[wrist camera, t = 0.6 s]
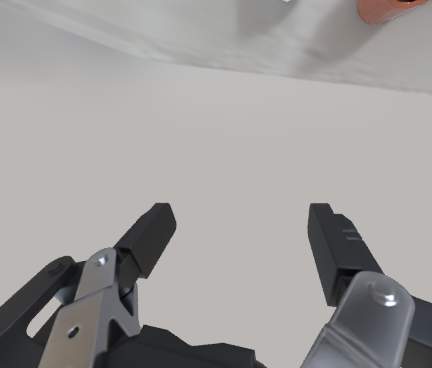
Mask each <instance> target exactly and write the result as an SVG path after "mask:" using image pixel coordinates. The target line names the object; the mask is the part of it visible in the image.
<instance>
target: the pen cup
mask: <svg viewBox="0 0 432 368" xmlns="http://www.w3.org/2000/svg"><path fill="white" fill-rule="evenodd" d="M427 1H429V0H358V12H359V15H360V17H361V18H362V19H363V20H364V21H365V22H367V23H369V24H381V23H384V22H387V21H389V20H392V19H394V18H396V17H398V16H400V15H402V14H404V13H406V12H408V11H410V10H412V9H414V8H416V7H418V6H420V5H422V4H424V3H426V2H427Z"/></svg>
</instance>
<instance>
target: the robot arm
mask: <svg viewBox="0 0 432 368" xmlns="http://www.w3.org/2000/svg"><path fill="white" fill-rule="evenodd" d="M175 230H176V220H175V217H174V214H173V212H172V209H171V206H170V204H169V203H156V204H154V206H153V207H152V208H151V209H150V210H149V211H148V212H146V213H145V214H144V215H142V216H141V217H140V218H139V219H138V220H137V221H136V223H135V224H134V225H133V226H132V227H131V228H130V229H129V230H128V231H127V232H126V233H125V235H124V236H123V237H122V238H121V239H120V240H119V241H118V242H117V243H116V245H115V246H114V247H113V248H105V249H102V250H100V251H98V252H96V253H95V254H94V255H92V256H91V257H90V258H89V259H88V260H87V261H82V262H77V263H76V262H75V261H74V260H73V259H72V257H70V256H63V257H60V258H58V259H56V260H54V261H52V262H51V263H49V264H48V265H47V266H45V267H44V268H43V269H42V270H41V271H40V272H39V273H37V275H35V276H34V277H33V278H32V279H31V280H30V281H29V282H28V283H26V284H25V285H24V286H23V287H22V288H21V289H20V290H18V291H17V292H16V293H15V294H14V295H13V296H12V297H11V298H10V299H8V300H7V301H6V302H5V303H4V304H3V305H2V306H1V307H0V368H267V367H266V366H264V365H263V364H262V363H260V362H258V361H257V360H256V357H255V350H252V349H248V348H243V347H239V346H235V345H230V344H226V343H217V344H208V345H199V346H190V345H188V344H187V343H185V342H184V341H183V340H181V339H180V338H178V337H177V336H175V335H174V334H172V333H171V332H170V331H168V330H165V329H161V328H157V327H152V326H148V325H143V327H142V329H141V328H140V326H139V320H138V289H137V283H136V281H137V279H138V278H144V279H147V278H148V277H149V275H150V273H151V271H152V270H153V268H154V266H155V265H156V263H157V261H158V259H159V258H160V256H161V254H162V252H163V251H164V249H165V248H166V246H167V244H168V243H169V241H170V239H171V237H172V236H173V234H174V232H175ZM308 238H309V242H310V245H311V249H312V252H313V256H314V259H315V263H316V267H317V270H318V274H319V277H320V281H321V284H322V288H323V292H324V295H325V299H326V302H327V305H328V306H332V307H337V308H336V310H335V312H334V314H333V316H332V317H331V319H330V321H329V322H328V323H326V324H325V325H324V327H323V328H322V330H321V332H320V333H319V335H318V337H317V339H316V340H315V342H314V344H313V345H312V347H311V349H310V351H309V353H308V354H307V356H306V358H305V360H304V362H303V363H302V365H301V367H300V368H400V367H402V368H432V303H430V302H427V301H424V300H421V299H419V298H416V297H414V296H412V295H410V294H409V293H408V291H407V290H406V289H405V288H404V287H403V286H402V285H400V284H399V283H398V282H396V281H395V280H393V279H392V278H390V277H388V276H385V274H384V273H383V271H382V270H381V268H380V267H379V265H378V264H377V262H376V260H375V259H374V257H373V256H372V254H371V252H370V250H369V249H368V247H367V246H366V244H365V242H364V241H362V237H361V236H360V234H359V233H358V232H357V230H356V228H355V226H354V225H353V223H352V222H351V221H350V220H349V219H348V218H346V217H345V216H344V215H342V214H334V213H333V211H332V209H331V207H330V205H329V204H328V203H311V204H310V209H309V218H308ZM53 296H55V297H56V298H57V299H58V300H59V301H60V302H61V303H62V304H61V305H60V307H59V308H58V309H57V310H56V311H55V312H54V313H53V315H52V316H51V317H50V318H49V320H48V321H47V322H46V323H45V324H44V325H43V326H42V328H41V329H40V330H39V331H38V332H37V333H36V335H35V336H34V337H33V338H31V337H29V336H28V335H27V333H26V330H27V327H28V325H29V323H30V321H31V320H32V319H33V318H34V317H35V316H36V315H37V314H38V313H39V312H40V311H41V309H42V308H43V307H44V306H45V305H46V304H47V303H48V302H49V301H50V300H51V299H52V298H53Z"/></svg>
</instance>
